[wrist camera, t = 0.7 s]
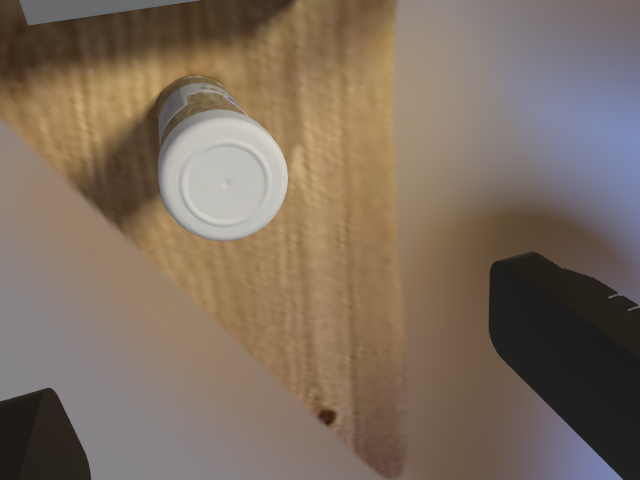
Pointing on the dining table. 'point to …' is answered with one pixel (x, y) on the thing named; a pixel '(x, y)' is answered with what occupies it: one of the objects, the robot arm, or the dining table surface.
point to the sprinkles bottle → (216, 162)
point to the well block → (83, 8)
